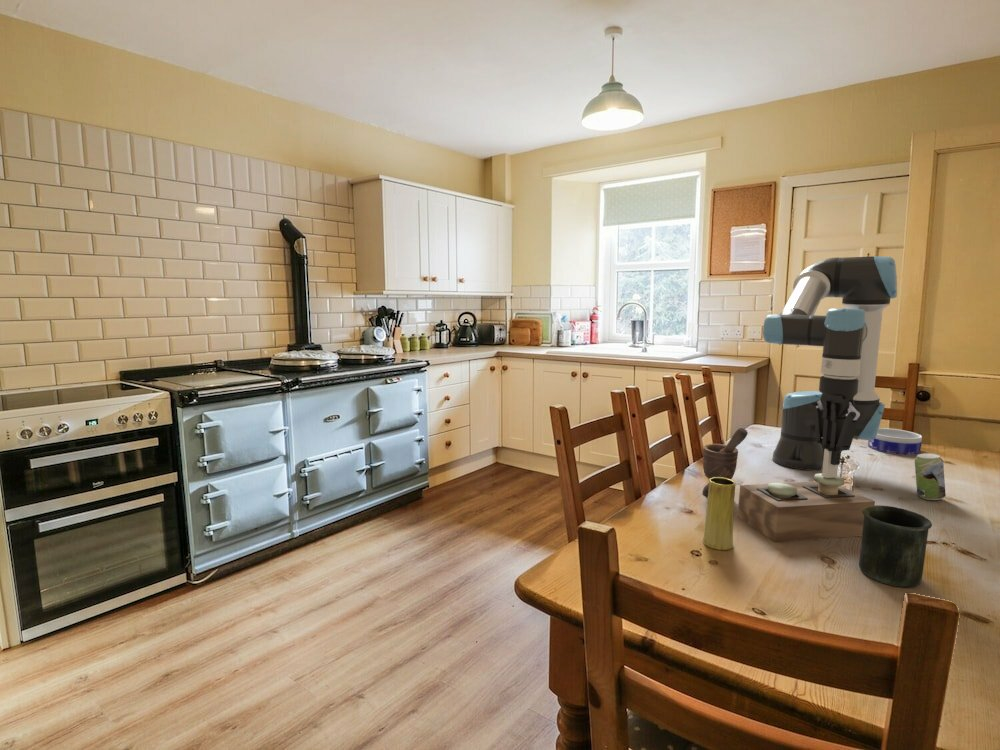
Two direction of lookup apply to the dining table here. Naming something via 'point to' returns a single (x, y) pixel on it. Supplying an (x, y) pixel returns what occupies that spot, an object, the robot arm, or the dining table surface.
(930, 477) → the beverage can
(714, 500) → the vase
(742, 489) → the socket block
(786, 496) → the peg
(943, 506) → the dining table surface
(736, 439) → the mortar and pestle
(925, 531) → the mug
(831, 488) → the peg
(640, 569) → the dining table surface
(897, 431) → the dog bowl
